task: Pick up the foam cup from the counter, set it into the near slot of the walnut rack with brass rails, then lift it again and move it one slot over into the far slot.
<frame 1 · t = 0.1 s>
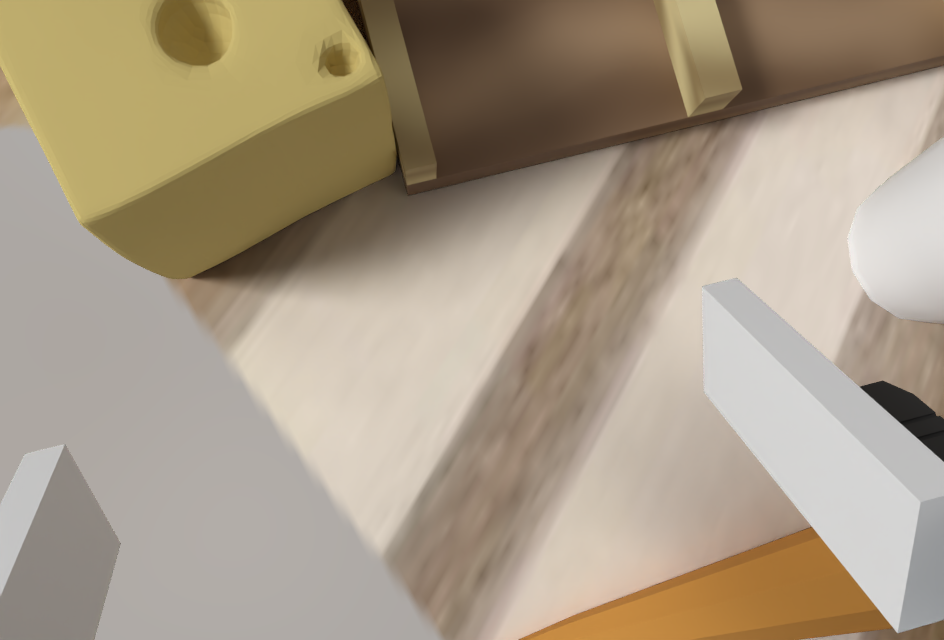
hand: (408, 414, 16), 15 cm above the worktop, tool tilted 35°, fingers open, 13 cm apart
carrot: (677, 594, 31), on the worktop
cheese: (241, 129, 32), on the worktop
foam cup: (916, 249, 33), on the worktop
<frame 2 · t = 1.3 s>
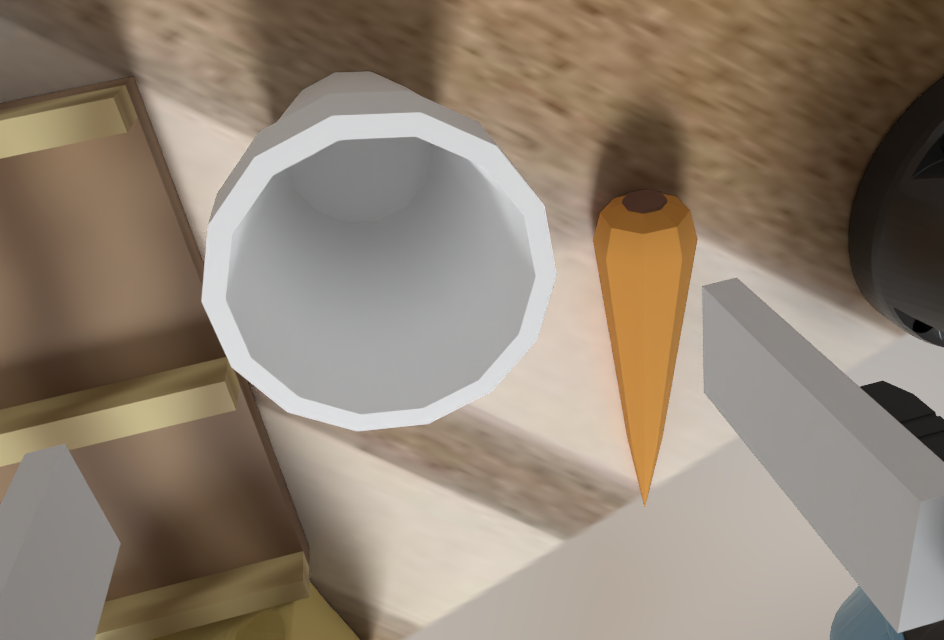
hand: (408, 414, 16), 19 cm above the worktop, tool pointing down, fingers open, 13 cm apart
rack: (92, 386, 35), on the worktop
carrot: (627, 361, 40), on the worktop
cheese: (259, 635, 45), on the worktop
foam cup: (357, 147, 32), on the worktop
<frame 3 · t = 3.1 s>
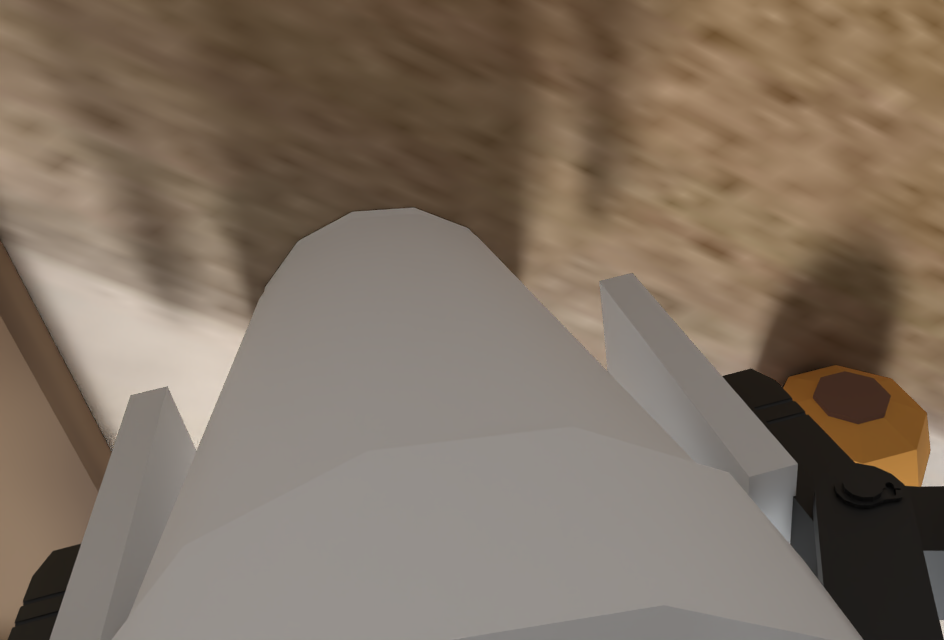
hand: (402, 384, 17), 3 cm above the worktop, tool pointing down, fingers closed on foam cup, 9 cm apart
carrot: (776, 579, 28), on the worktop
foam cup: (389, 323, 19), on the worktop, touching gripper
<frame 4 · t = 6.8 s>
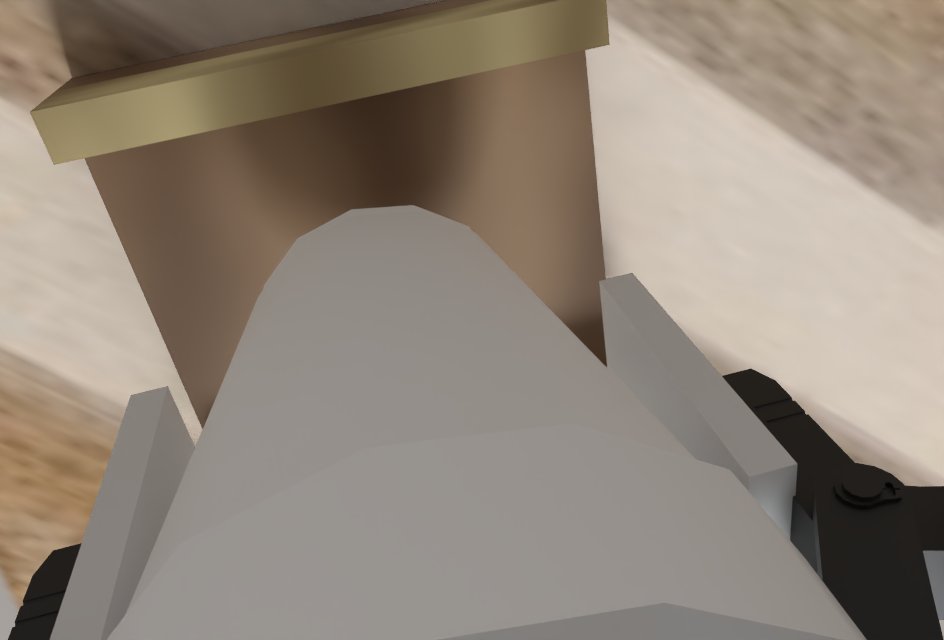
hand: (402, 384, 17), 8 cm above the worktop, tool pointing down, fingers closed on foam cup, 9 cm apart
rack: (418, 405, 27), on the worktop
foam cup: (388, 321, 19), point 5 cm above the worktop, touching gripper
when the fingers open (5 cm above the worktop, at t = 7.8 s): foam cup stays where it is, resting on rack.
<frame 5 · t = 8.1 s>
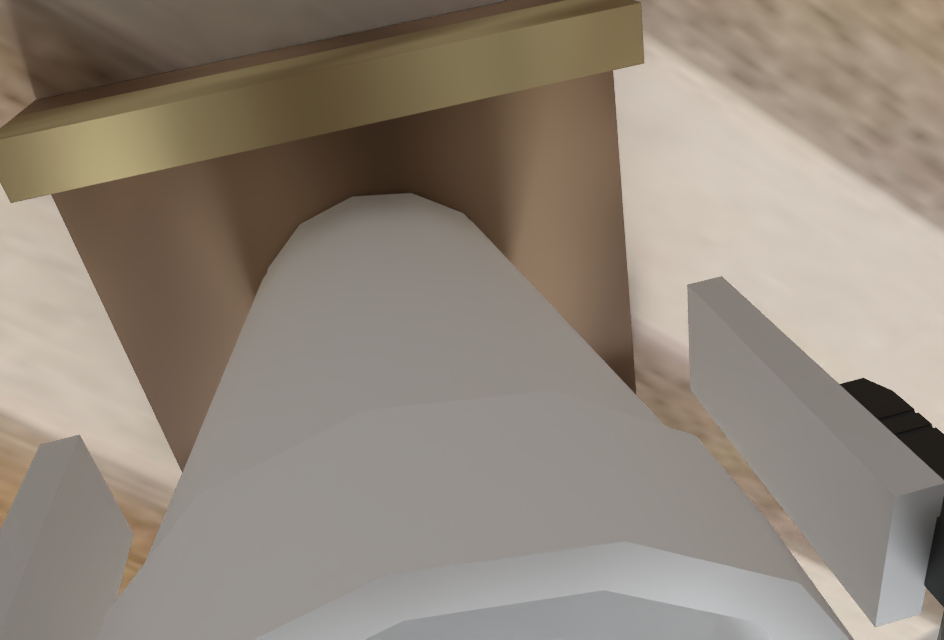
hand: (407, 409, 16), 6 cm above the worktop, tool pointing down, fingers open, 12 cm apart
rack: (423, 449, 24), on the worktop
foam cup: (387, 304, 20), point 1 cm above the worktop, touching rack
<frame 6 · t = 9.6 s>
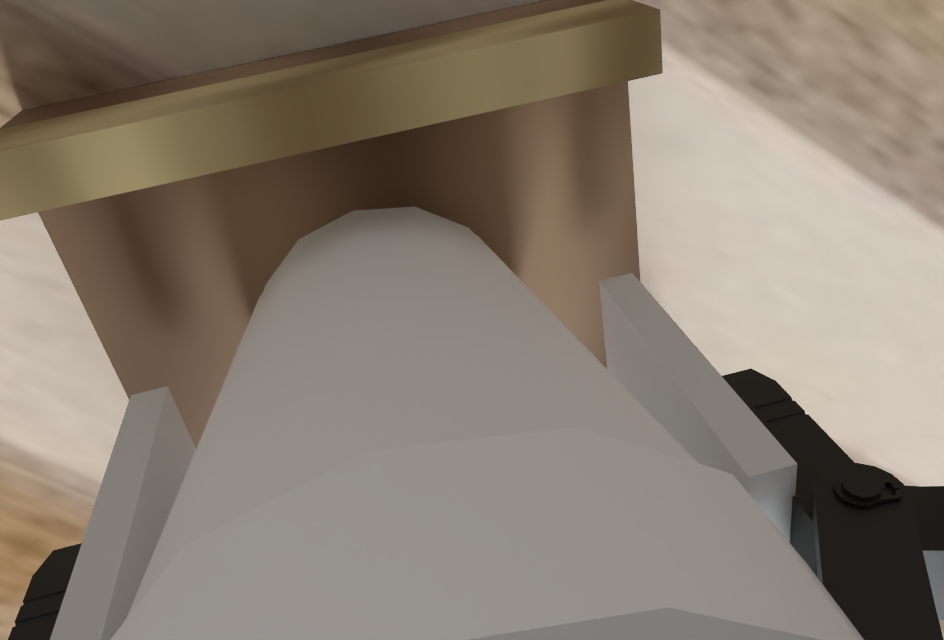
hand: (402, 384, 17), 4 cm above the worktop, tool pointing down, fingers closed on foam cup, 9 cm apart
rack: (427, 470, 24), on the worktop
foam cup: (389, 322, 19), point 1 cm above the worktop, touching gripper, rack
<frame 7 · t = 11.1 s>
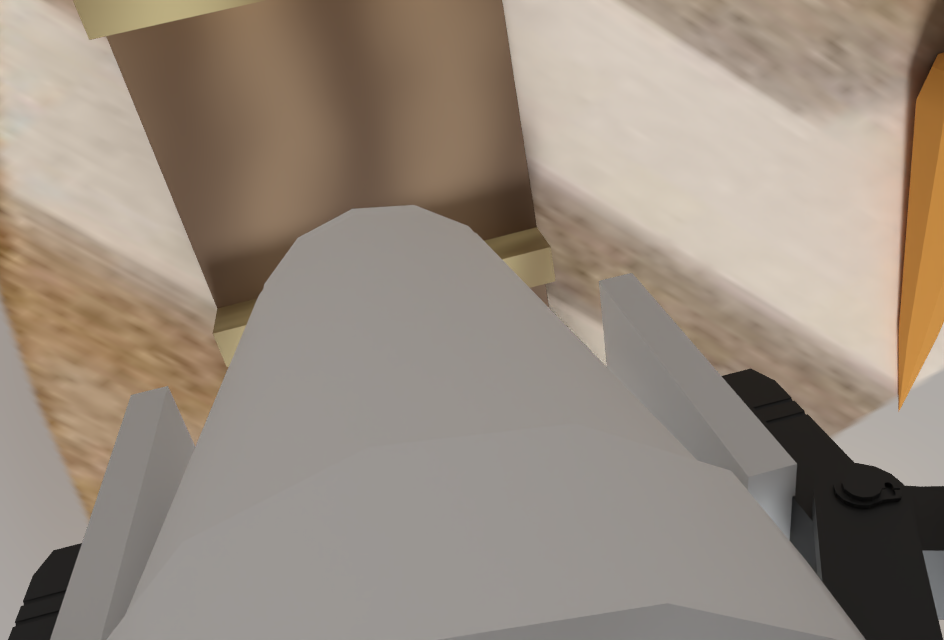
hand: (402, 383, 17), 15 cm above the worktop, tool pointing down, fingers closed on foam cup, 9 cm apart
rack: (380, 267, 32), on the worktop
carrot: (909, 247, 38), on the worktop
foam cup: (388, 321, 19), point 13 cm above the worktop, touching gripper
when the fingers open (5 cm above the worktop, at t = 14.2 s): foam cup stays where it is, resting on rack.
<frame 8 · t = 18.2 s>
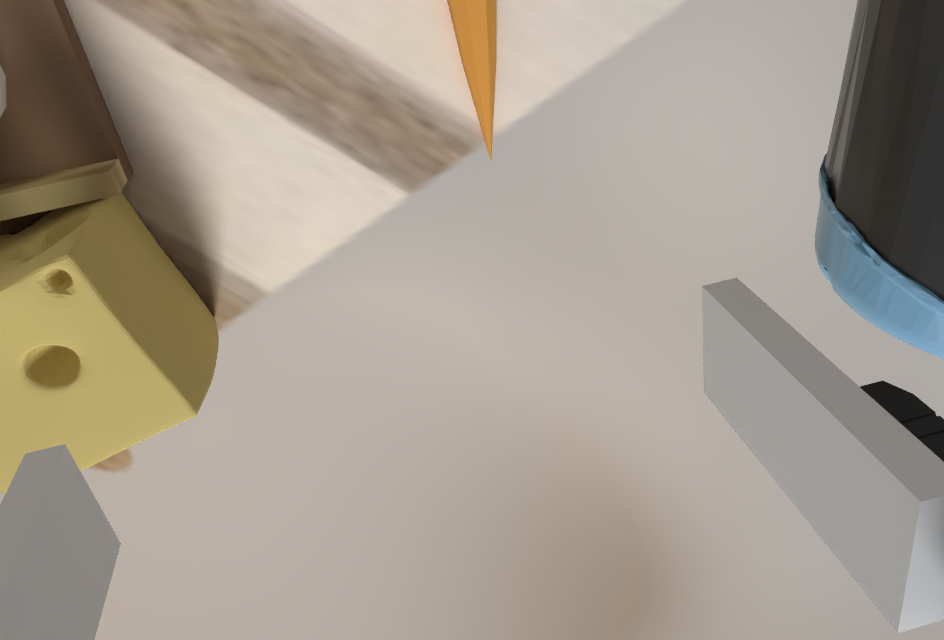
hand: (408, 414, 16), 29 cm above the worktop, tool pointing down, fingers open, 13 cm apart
cheese: (94, 289, 43), on the worktop
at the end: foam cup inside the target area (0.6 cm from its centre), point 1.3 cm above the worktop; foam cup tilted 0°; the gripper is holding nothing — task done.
